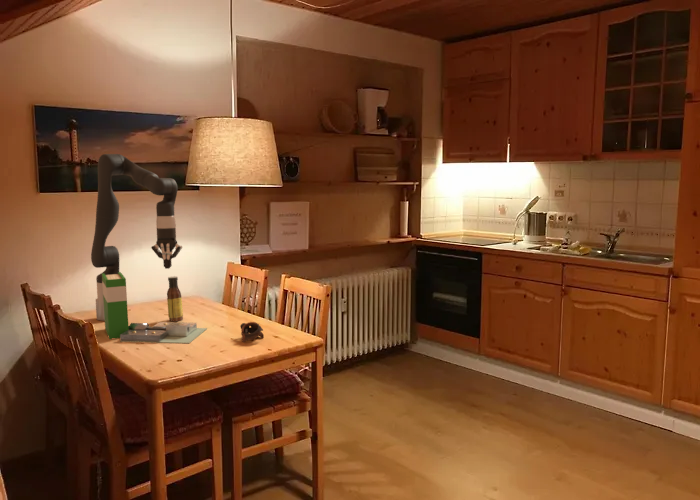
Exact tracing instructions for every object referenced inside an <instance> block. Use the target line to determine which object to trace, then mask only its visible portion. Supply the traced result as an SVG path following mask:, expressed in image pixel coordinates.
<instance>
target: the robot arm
mask: <svg viewBox="0 0 700 500" xmlns="http://www.w3.org/2000/svg"><path fill="white" fill-rule="evenodd" d="M113 176H128V177H130V178H131V179H132V181H133V182H135V184H137V185H139V186H141V187H143V188H145V189H147V190H148V191H150V192H151V194H153V195H155V196H163V198H162V200H160V201H158V202H157V203H156V208H155V209H156V223H155V225H156V242H155V244H154V245H152V246H151V247H150V249H152V251H153V252H154V253H155V255H156V256H157V257H158V258H159V259H161V260H163V261H162V263H163V268H164V269H168V270H169V269H171V267H172V259H175V258H176V257H177V256H178V254H179V253H180V251H182V249H183V246H182V245H179V244H178V240H177V233H176V232H177V231H176V230H177V229H176V227H177V226H176V225H177V224H176V217H175V203H176V198H177V195H178V189H179V188H178V184H177V182H176V180H175V179H174V178H171V177H169V178H167V177H159V176H158V174H156V173H155V172H153V171H150V170H148V169H145V168H143V167H141V166H139V165H138V164H136V163H135V162H133V161H132V160H130V159H128V158H127V157H126V156H124V155H123V154H120V153H102V154H101V155H100V157H99V158H98V160H97V202H96V209H95V210H96V211H95V212H96V213H95V224H94V225H95V226H94V227H95V228H94V234H93V241H92V247H91V255H90V258H91V259H90V260H91V264H92V265H93V267H95V268H100V269H101V268H105V270H103V271H102V272H101V273H99V274H98V275H97V276H96V295H97V297H96V298H95V313H96V315H95V316H96V317H95V318H96V320H97V321H103V322H105V317H104V301H103V285H102V273H104V274H105V275H112V274H118V272H120V251H119V249H118V248H117V247H116V245H115V246H114V245H106V241H107V239H108V238H109V235H110V233H111V232H112V231H113V230H114V228H115V227H116V225H117V223H118V221H119V216H120V215H119V214H120V203H119V201H118V199H117V196H116V195H115V193H114V190H113V188H112V177H113ZM174 249H175V250H174ZM173 251H174V252H173Z"/></svg>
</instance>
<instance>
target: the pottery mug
mask: <svg viewBox="0 0 700 500" xmlns="http://www.w3.org/2000/svg"><path fill="white" fill-rule="evenodd" d="M240 329H241V341H242V342H243V343H245V342H246V341H251V340H255V339H256V338H258V337H261V338H262V339H264V333H263V332H264V329H263V328H262V326H261V325H260V324H259V323H258V322H256V321H250V322H247V323H245V322H243V323H241V324H240Z"/></svg>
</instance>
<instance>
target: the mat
mask: <svg viewBox="0 0 700 500" xmlns="http://www.w3.org/2000/svg"><path fill="white" fill-rule="evenodd" d="M207 330H208V328H207V327H197V329H195V330H194V331H193V332H192V333H190V334H189V335H188V336H167V337H166V338H164V339H163V340H162V341H160V342H152V341H121V340H119V342H120V343H151V344H190V343H192V342H193V341H195V339H197V338H198V337H199V336H200V335H201V334H203V333H204V332H205V331H207Z"/></svg>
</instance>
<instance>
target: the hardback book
mask: <svg viewBox="0 0 700 500" xmlns="http://www.w3.org/2000/svg"><path fill="white" fill-rule="evenodd" d="M101 273H102V285H103V301H104V317H105V321H104V329H105V333H106V334H107V337H108V336H109V337H108V339H109V340H112V338H115V339H120V334H122V333H124V332H125V331H127V330H129V327H128V326H129V312H128V311H129V310H128V298H127V297H128V296H127V295H128V294H127V293H128V292H127V281H126V280H127V279H126V277H125V276H124V275H123V273H121V271H119V272H118V274H112V275H105V274H104V273H103V272H101Z"/></svg>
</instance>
